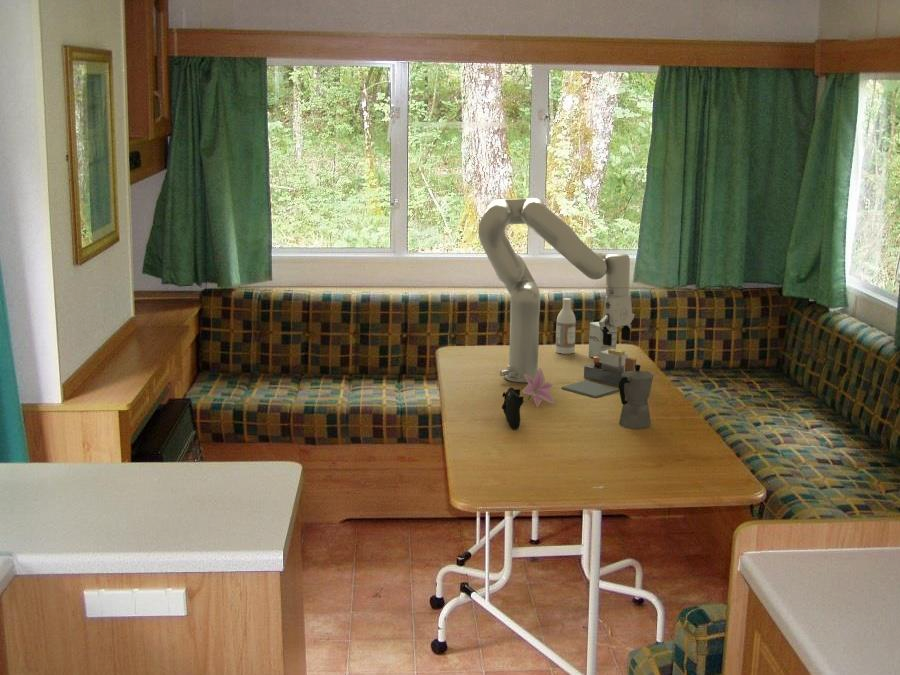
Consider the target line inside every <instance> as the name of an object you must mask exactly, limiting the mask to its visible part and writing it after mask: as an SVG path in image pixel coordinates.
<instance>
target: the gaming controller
mask: <svg viewBox="0 0 900 675" xmlns="http://www.w3.org/2000/svg"><path fill="white" fill-rule="evenodd" d="M501 396H502V398H504V402H503V403H502V406H501V409H502V411H503V413H504V415H505V419H506V421H507V423H508V425H509V427H510V428H511V429H512V430H517V429H519V428H520V426H521V412H520V411H521V406H522V405H523V404H524V403H525V400H524V396H523V395H522V396H521V388H520V389H519V388H518V389H515V388H514V387H509V388H508V389H507V391H506V392H503V393H502V395H501Z"/></svg>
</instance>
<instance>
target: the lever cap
mask: <svg viewBox="0 0 900 675" xmlns="http://www.w3.org/2000/svg"><path fill="white" fill-rule="evenodd" d="M628 357H629V354H628V353H625V351H624V350H621V349H617V348H616V349H609V350H605V351H601V352H600V359H599V362H600V363H604V364H608V365H612V366H616V367H620V366H624V367H625V358H628Z"/></svg>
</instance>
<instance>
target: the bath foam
mask: <svg viewBox="0 0 900 675" xmlns="http://www.w3.org/2000/svg"><path fill="white" fill-rule="evenodd" d="M576 325H577V321H576V315H575V313H574V311H573V310H572V298H570V297H564V298H562V308H561V310H560V312H559V313H558V314H557V317H556V330H555V353H557V354H559V353H561V354H560V355H572V354H574V353H575V349H576V348H575V347H576V330H577V329H576V327H577V326H576ZM571 353H572V354H571Z"/></svg>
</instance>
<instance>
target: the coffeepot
mask: <svg viewBox="0 0 900 675" xmlns="http://www.w3.org/2000/svg"><path fill="white" fill-rule="evenodd" d="M635 369H636V371H627V372H623V373H622V374H621V380H620V382H619V387H618V389H619V391H618V392H619V395H620V396H619V397H620V400H621V404H622V408H621V413H620V417H619V421H618V424H619V425H620V426H622V427H623V428H627V429H631V430H643V429H647V428H650V426H651V417H650V407H649V403H648V402H649V401H648V399H649V398H650V394H651V389H652V385H653V380H654V374H653V373H652V371H647V370H641V365H640V364H636V365H635Z"/></svg>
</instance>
